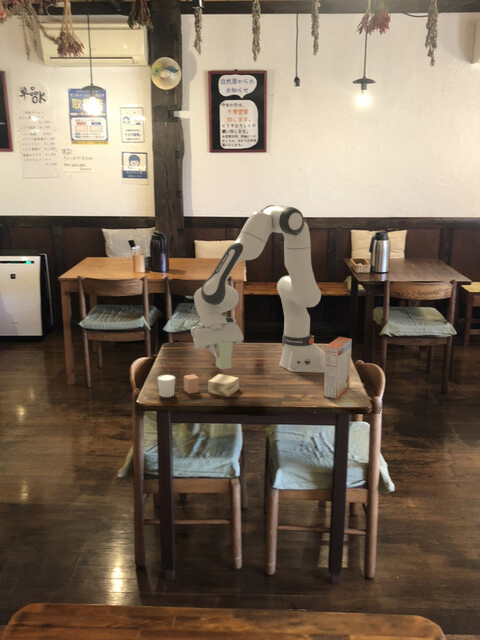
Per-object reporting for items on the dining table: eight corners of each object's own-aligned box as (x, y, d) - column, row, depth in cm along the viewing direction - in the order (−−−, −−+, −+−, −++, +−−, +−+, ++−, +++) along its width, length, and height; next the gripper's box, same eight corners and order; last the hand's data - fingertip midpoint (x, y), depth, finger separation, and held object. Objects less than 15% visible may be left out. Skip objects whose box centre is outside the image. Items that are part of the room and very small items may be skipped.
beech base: (238, 389, 245) (239, 377, 244) (228, 397, 238) (228, 385, 236) (218, 385, 249) (218, 373, 248) (208, 393, 241) (208, 381, 240)
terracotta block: (194, 388, 246) (194, 374, 244) (199, 392, 242) (198, 377, 240) (183, 390, 243) (183, 375, 242) (188, 394, 240) (188, 379, 238)
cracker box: (335, 385, 250) (338, 336, 245) (349, 388, 247) (353, 338, 242) (322, 396, 239) (324, 345, 233) (336, 399, 236) (339, 347, 230)
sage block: (225, 364, 244) (226, 340, 241) (231, 367, 240) (231, 343, 237) (215, 365, 241) (215, 341, 239) (220, 369, 238) (221, 344, 235)
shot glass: (172, 398, 235) (172, 381, 233) (155, 396, 236) (154, 379, 234) (177, 391, 242) (177, 375, 240) (161, 390, 243) (160, 373, 241)
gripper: (191, 323, 237) (202, 355, 232) (238, 318, 247) (249, 348, 241) (187, 331, 242) (197, 362, 236) (233, 325, 252) (244, 355, 246)
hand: (224, 355), depth 239 cm, fingers closed on sage block, 4 cm apart
